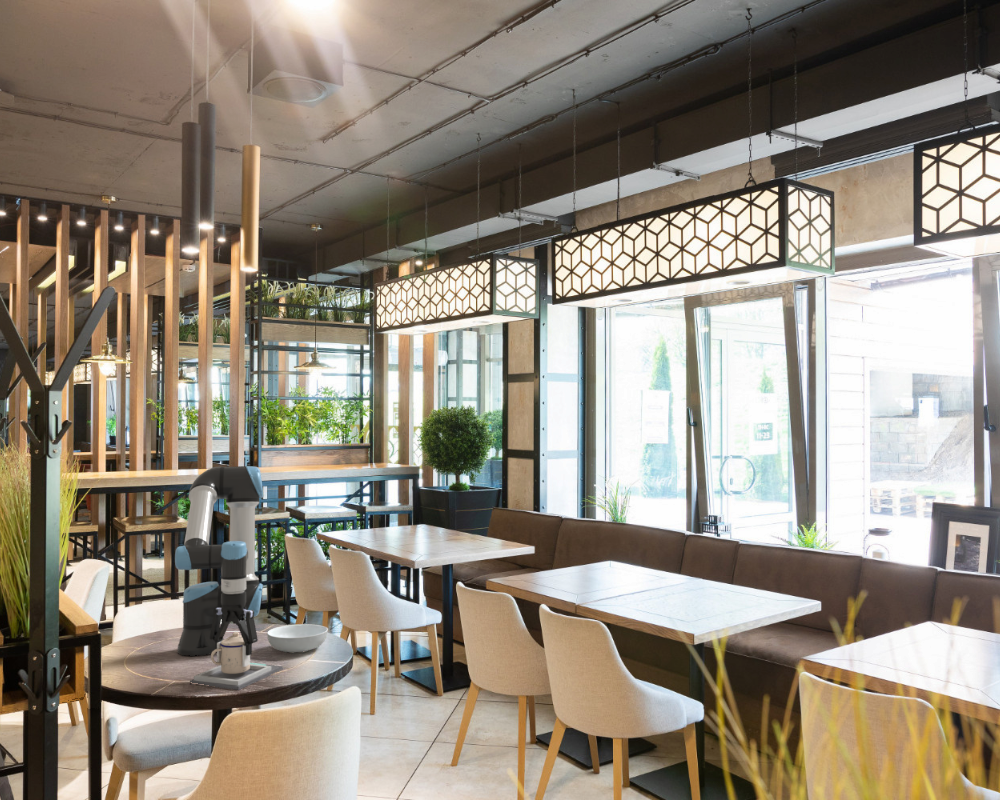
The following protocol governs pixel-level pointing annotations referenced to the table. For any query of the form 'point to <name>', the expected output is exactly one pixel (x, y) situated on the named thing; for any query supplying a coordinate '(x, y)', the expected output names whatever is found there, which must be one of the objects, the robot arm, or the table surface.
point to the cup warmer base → (235, 676)
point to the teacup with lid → (231, 655)
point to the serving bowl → (297, 637)
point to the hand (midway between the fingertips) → (233, 664)
